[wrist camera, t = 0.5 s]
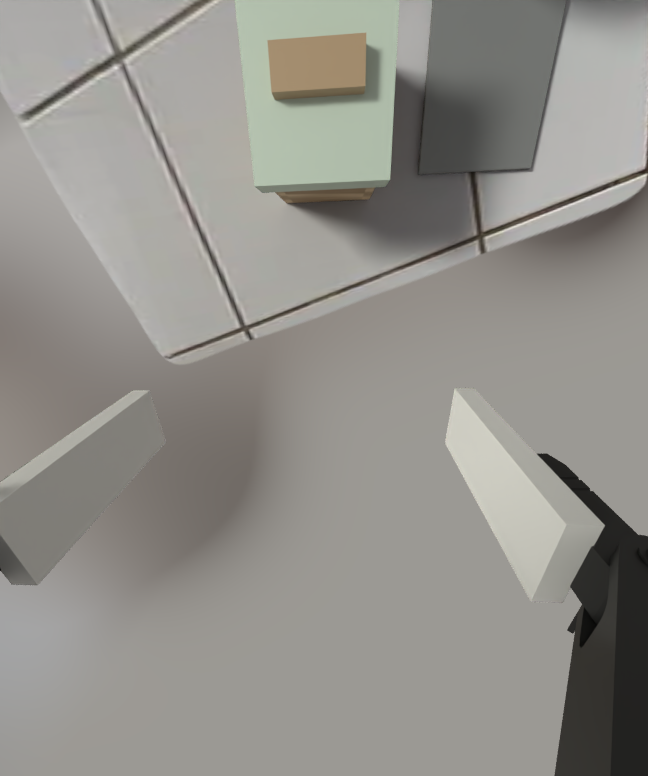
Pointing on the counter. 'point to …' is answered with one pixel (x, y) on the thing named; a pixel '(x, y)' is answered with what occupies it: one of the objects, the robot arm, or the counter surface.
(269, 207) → the counter surface
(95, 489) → the robot arm
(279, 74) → the lid
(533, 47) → the mat
